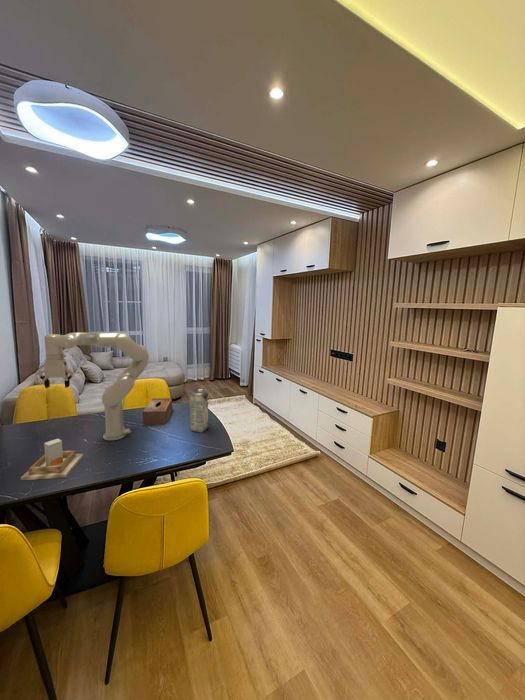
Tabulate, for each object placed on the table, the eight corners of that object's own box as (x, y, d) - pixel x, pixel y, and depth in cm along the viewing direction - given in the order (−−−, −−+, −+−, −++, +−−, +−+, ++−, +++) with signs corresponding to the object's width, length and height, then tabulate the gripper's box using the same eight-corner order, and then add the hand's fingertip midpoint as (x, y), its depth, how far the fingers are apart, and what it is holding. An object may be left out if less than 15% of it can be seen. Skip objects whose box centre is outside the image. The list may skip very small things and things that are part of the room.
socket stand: (82, 456, 145) (82, 448, 145) (65, 477, 128) (64, 468, 127) (44, 458, 142) (43, 450, 141) (21, 480, 124) (20, 471, 124)
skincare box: (49, 468, 131) (47, 445, 129) (45, 465, 133) (43, 443, 131) (64, 462, 136) (62, 440, 134) (60, 460, 139) (58, 438, 137)
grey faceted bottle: (202, 433, 175) (202, 393, 171) (188, 430, 178) (187, 390, 174) (209, 428, 183) (209, 389, 179) (195, 425, 187) (195, 387, 182)
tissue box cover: (152, 410, 209) (152, 398, 207) (172, 410, 211) (172, 398, 210) (143, 425, 184) (142, 411, 182) (165, 425, 186) (165, 411, 184)
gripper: (75, 355, 155) (78, 385, 157) (40, 355, 151) (43, 385, 154) (69, 358, 147) (71, 389, 150) (32, 358, 144) (35, 389, 147)
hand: (57, 387), depth 152 cm, fingers open, 9 cm apart
